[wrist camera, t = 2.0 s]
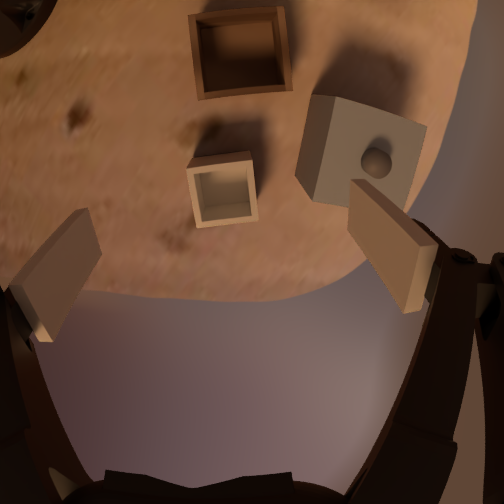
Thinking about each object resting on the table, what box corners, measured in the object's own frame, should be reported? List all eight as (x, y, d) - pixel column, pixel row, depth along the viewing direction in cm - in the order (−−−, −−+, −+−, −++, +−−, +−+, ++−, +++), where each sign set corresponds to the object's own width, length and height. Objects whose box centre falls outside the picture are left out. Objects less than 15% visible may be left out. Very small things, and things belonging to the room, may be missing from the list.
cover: (311, 94, 28) (340, 96, 20) (387, 115, 29) (434, 128, 21) (294, 175, 32) (315, 206, 24) (368, 189, 34) (406, 222, 26)
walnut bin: (194, 26, 24) (187, 15, 20) (275, 18, 24) (283, 6, 20) (203, 99, 28) (197, 100, 24) (283, 90, 28) (292, 90, 24)
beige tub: (192, 158, 31) (186, 168, 27) (249, 150, 31) (252, 160, 27) (200, 210, 34) (196, 228, 30) (255, 204, 34) (258, 220, 30)
